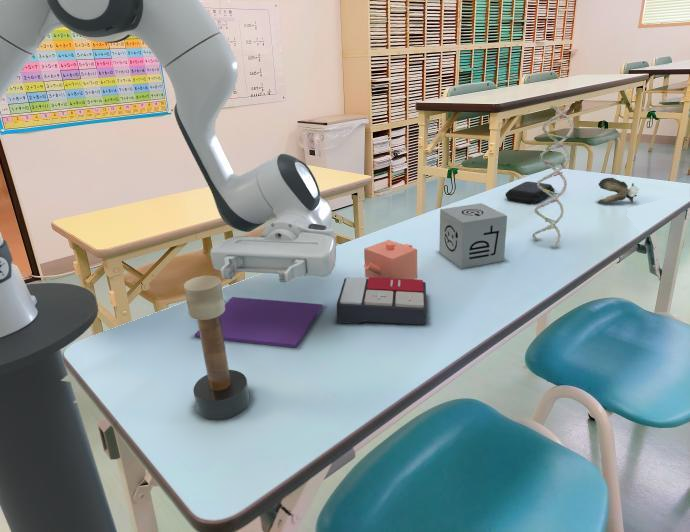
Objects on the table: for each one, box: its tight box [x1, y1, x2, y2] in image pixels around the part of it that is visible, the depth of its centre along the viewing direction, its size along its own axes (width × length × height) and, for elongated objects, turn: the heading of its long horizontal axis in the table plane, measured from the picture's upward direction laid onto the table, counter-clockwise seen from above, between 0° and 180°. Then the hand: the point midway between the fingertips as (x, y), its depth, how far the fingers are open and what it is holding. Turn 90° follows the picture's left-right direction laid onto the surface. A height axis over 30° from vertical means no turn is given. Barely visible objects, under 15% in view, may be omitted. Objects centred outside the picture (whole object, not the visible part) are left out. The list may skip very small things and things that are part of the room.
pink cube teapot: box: [363, 239, 418, 280], centre depth 101 cm, size 8×12×8 cm, turn 130°
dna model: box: [531, 104, 574, 249], centre depth 112 cm, size 7×6×30 cm
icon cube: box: [438, 202, 508, 270], centre depth 111 cm, size 10×10×10 cm
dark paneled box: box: [336, 276, 428, 326], centre depth 92 cm, size 11×4×15 cm
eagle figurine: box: [597, 177, 640, 205], centre depth 142 cm, size 8×7×9 cm
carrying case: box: [504, 181, 556, 204], centre depth 151 cm, size 11×3×15 cm
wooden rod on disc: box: [183, 275, 250, 421], centre depth 67 cm, size 7×7×18 cm
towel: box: [194, 296, 323, 348], centre depth 91 cm, size 18×14×1 cm
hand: (254, 276), depth 77 cm, fingers open, 8 cm apart
